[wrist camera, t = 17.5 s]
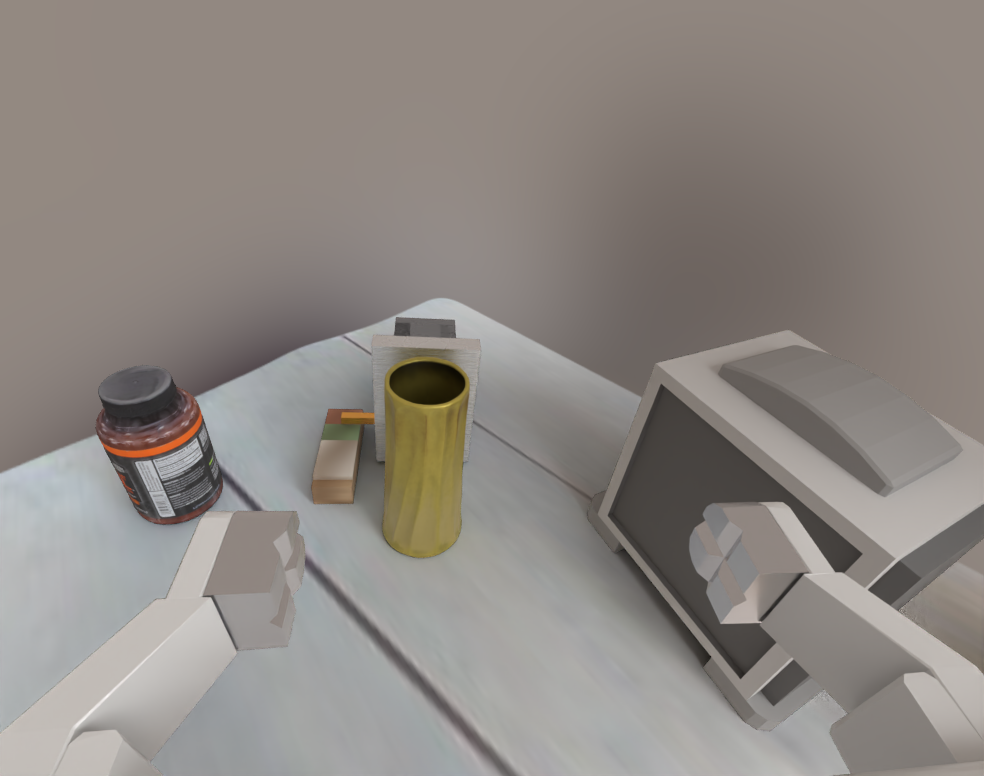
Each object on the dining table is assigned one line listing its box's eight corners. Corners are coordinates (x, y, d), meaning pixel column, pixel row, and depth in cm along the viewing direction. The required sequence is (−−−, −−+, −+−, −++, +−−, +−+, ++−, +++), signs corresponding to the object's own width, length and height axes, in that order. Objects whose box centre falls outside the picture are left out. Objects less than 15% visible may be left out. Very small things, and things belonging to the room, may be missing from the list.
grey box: (878, 646, 36) (1099, 470, 24) (758, 740, 30) (972, 568, 19) (691, 467, 48) (780, 296, 37) (580, 510, 42) (645, 323, 31)
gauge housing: (450, 368, 56) (454, 320, 52) (454, 430, 48) (459, 378, 44) (396, 367, 55) (396, 317, 51) (391, 429, 47) (390, 376, 43)
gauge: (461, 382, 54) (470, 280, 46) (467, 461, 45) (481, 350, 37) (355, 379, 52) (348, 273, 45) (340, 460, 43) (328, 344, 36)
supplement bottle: (128, 488, 39) (69, 371, 32) (211, 457, 42) (173, 345, 35) (148, 542, 35) (86, 425, 29) (236, 504, 39) (200, 390, 32)
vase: (385, 494, 41) (380, 350, 32) (459, 494, 42) (474, 353, 33) (379, 560, 36) (371, 411, 28) (463, 558, 37) (481, 413, 29)
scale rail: (364, 427, 47) (363, 407, 46) (352, 503, 40) (351, 483, 39) (331, 426, 47) (328, 407, 45) (314, 503, 40) (310, 483, 38)
